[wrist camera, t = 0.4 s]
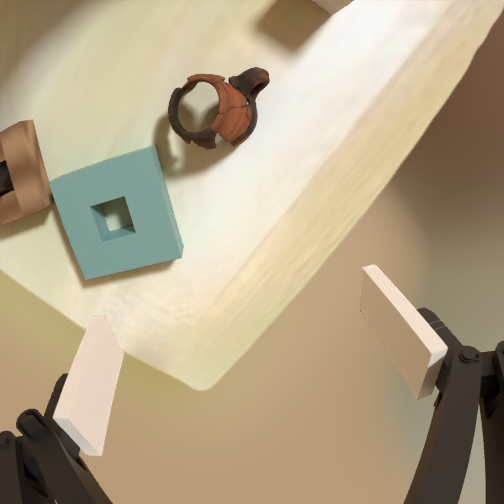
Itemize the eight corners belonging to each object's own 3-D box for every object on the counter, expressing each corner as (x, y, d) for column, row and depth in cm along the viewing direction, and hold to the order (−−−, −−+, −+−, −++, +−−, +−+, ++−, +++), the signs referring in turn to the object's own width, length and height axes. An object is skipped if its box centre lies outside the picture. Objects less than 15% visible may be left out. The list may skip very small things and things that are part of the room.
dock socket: (60, 176, 37) (49, 182, 33) (155, 145, 37) (150, 148, 34) (92, 268, 43) (85, 280, 39) (183, 246, 43) (181, 257, 40)
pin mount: (-24, 151, 32) (-38, 155, 29) (32, 119, 33) (19, 121, 29) (-2, 223, 37) (-14, 232, 34) (55, 201, 38) (44, 208, 35)
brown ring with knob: (227, 165, 40) (192, 166, 32) (186, 115, 40) (147, 108, 33) (298, 100, 34) (276, 84, 27) (249, 51, 35) (218, 29, 27)
